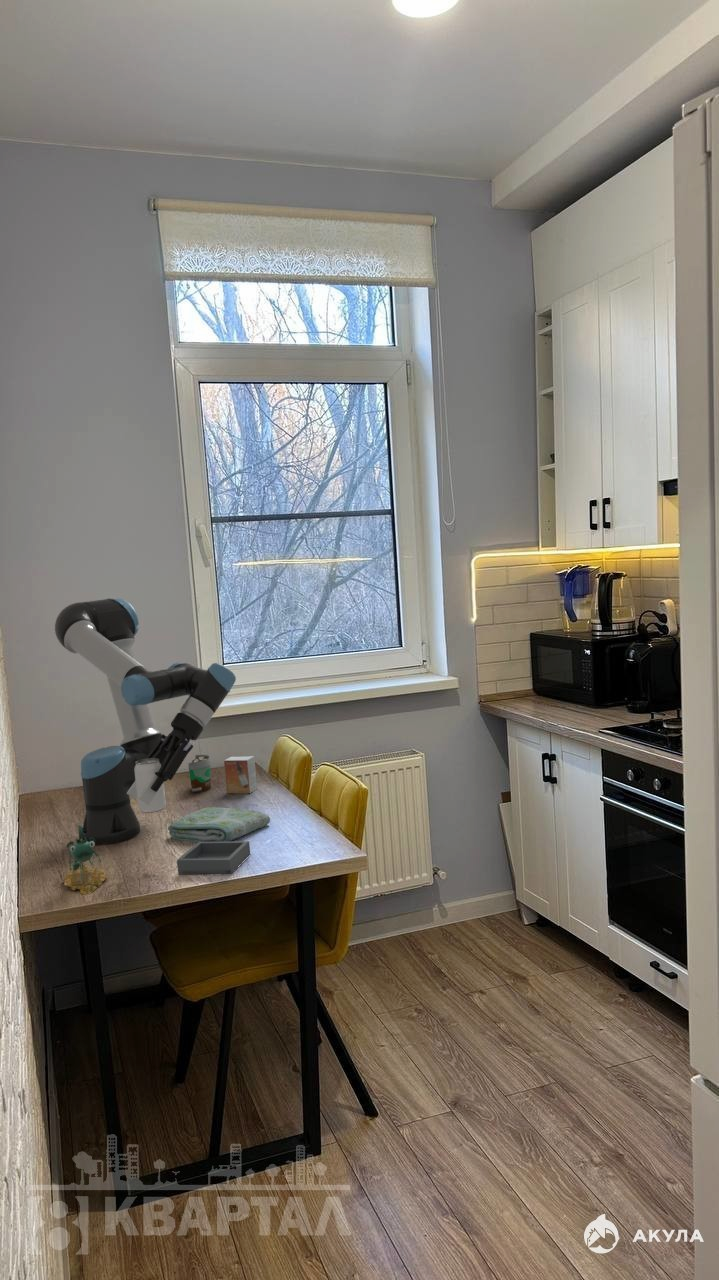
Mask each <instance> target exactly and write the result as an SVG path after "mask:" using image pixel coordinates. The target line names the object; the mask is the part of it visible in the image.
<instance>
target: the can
mask: <svg viewBox="0 0 719 1280" xmlns="http://www.w3.org/2000/svg"><path fill="white" fill-rule="evenodd" d="M135 763H136V766H135V769H134V771H135V781H136V790H137V806H138V811H139V812H140V813H143V814H152V813H158V812H161V811H163V810H165V808H167V802H166V794H165V782H164V783H163V784H162V785H161V787H160V788H159V790H158V791H157V793H156V794H155V796H154V797H153V799H152V800H151V802H150V803H149V805H147V804H146V803H144V802H143V801H142V800H140V799H139V797H140V795H141V794H142V793H143V791H144V790H145V788H146V787H147V785H148V784H149V782H150V781H151V779H152V778H153V777H154V775H155V772H159V770H160V768H161V764H160V762H159V759H157V758H148V759H142V760H139V761H136V762H135ZM156 776H157V775H156ZM157 777H158V776H157Z"/></svg>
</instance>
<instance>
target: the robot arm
mask: <svg viewBox="0 0 719 1280" xmlns="http://www.w3.org/2000/svg"><path fill="white" fill-rule="evenodd" d="M138 631H139V617H138V614H137V612H136V610H135V608H134V606H132V604H131V603H130V602H129V601H127V600H125V599H123V598H105V599H98V600H90V601H83V602H74V603H71V604H68V605H67V606H66V607H64V608H63V609H62V610H61V611H60V612H59V613H58V615H57V617H56V619H55V623H54V634H55V636H56V639H57V640H58V642H59V643H60V645H61V646H62V647H64V648H65V649H66V650H67V651H68V652H69V653H73V654H79V655H80V656H82V658H84V659H85V660H86V661H88V662H89V663H90V664H91V665H93V666H94V667H95V668H97V669H98V670H99V671H101V672H102V673H103V674H105V676H106V678H107V681H108V685H109V689H110V692H111V695H112V701H113V703H114V706H115V710H116V714H117V717H118V721H119V724H120V727H121V731H122V736H123V737H122V740H121V742H120V744H119V745H111V746H107V747H102V748H98V749H95V750H92V751H90V752H88V753H87V754H85V755H84V756H83V757H82V758H81V761H80V776H81V782H82V788H83V797H84V805H85V815H84V818H83V819H84V820H83V825H82V828H83V839H84V838H85V837H86V839H87V841H88V842H90V841H94V840H89V838H90V837H93V838H95V840H96V841H94V842H95V845H108V844H116V843H120V842H124V841H128V840H130V839H132V838H134V837H136V836H138V835H139V834H140V833H141V827H140V826H141V825H140V822H139V820H138V817H137V815H136V813H135V811H134V810H133V809H134V808H133V807H132V805H131V798H132V799H133V800H136V801H137V800H138V798H137V790H136V781H135V771H134V769H135V766H136V763H135V762H136V761H139V760H142V759H148V758H157V759H159V762H160V764H161V768H160V770H159V772H155V775H154V777H153V778H152V779H151V781H150V782H149V784H148V785H147V787H146V788H145V790H144V791H143V793H142V794H141V795H140V797H139V799H140V800H142V801H143V802H144V803H146V804H147V805H149V803H150V802H151V800H152V799H153V797H154V796H155V794H156V793H157V791H158V790H159V788H160V787H161V785H162V784H163V783H164V784H165V782H167V781H172V779H173V778H174V776H175V775H176V773H177V772H178V770H179V769H180V767H181V766H182V764H183V761H184V760H185V759H186V757H187V755H188V754H189V753H190V751H191V750H192V749H193V748H194V745H193V743H192V744H191V741H197V740H198V738H199V737H200V735H201V734H202V732H203V731H204V727H206V726H207V724H208V723H209V722H210V721H211V720H212V717H213V716H214V714H215V713H216V712H217V710H218V708H219V707H220V706H221V705H222V703H223V701H224V700H225V699H226V698H227V696H228V694H229V693H230V692H231V689H232V688H233V686H234V684H235V683H236V680H237V678H236V677H237V676H236V675H235V674H234V672H233V671H231V669H229V668H228V667H226V666H225V665H223V664H221V663H219V662H214V663H212V664H211V665H210V666H209V667H207V669H204V668H200V667H197V666H195V665H192V664H190V663H187V662H175V663H173V664H171V665H170V666H169V667H168V668H166V669H160V670H157V671H156V670H154V671H151V670H149V668H147V667H146V666H144V665H143V664H141V663H140V662H138V660H136V658H135V655H134V652H133V648H132V647H133V645H134V643H135V641H136V638H135V636H136V635H137V634H138ZM184 696H188V697H187V699H186V700H185V702H183V704H182V706H181V707H180V708H179V711H180V712H178V713H177V714H176V715H175V716H174V718H173V719H172V721H171V722H170V726H171V727H172V730H171V732H170V733H168V735H165V734H162V732H161V731H159V730H157V729H156V728H155V726H154V723H153V719H152V715H151V712H150V709H149V705H148V704H152V703H156V702H160V701H165V700H169V699H170V700H171V699H175V698H179V697H184ZM156 775H157V776H158V777H157V776H156Z"/></svg>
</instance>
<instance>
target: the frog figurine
mask: <svg viewBox="0 0 719 1280" xmlns="http://www.w3.org/2000/svg"><path fill="white" fill-rule="evenodd" d="M77 830H78V838H75V841H76V842H75V843H74V841H69V842H68V843H67V845H66V847H67V848H68V847H69V854H70V855H69V861H68V864H69V866H70V867H69V870H70V871H68V872H67V873H66V875H65V878H64V884H63V885H64V886H66V887H68V888H70V889H71V890H72V891H75V890H78V891H80V894H82V895H84V896H85V895H88V894H89V895H90V894H92V893H93V892H94V891H95V890H97V889H99V888H100V887H101V885H103V882H104V881H105V880H107V879H108V876H106V875H105V872H104V870H103V869H101V868H100V869H97V868H95V867H93V865H94V861H93V860H91V858H93V859H95V858H97V857H98V860H99V862H100V863H101V862H102V860H101V858H100V855H99V854H98V853H97V852H96V851H95V850H94V847H95V846H96V844H95V842H94V841H96V840H95V838H93V837H90V838H89V840H94V841H90V842H88V841H87V839H86V837H85V838H84V839H83V825H81V824H78V826H77ZM72 858H73V860H74V861H71V859H72ZM87 861H89V863H90V865H91V866H89V865H87V864H86V865H84V862H87ZM71 871H72V872H71Z"/></svg>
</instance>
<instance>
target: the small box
mask: <svg viewBox="0 0 719 1280" xmlns="http://www.w3.org/2000/svg"><path fill="white" fill-rule="evenodd" d="M255 760H256V759H255V756H254V755H250V756H249V755H248V756H230V757H228V758H226V759H225V760H223V765H224V775H225V776H224V777H225V786H226V787H225V788H226V794H242V793H250V794H251V792H252V793H253V792H255V791H256V790H257V789H258V785H257V784H258V783H257V771H256V762H255ZM254 790H255V791H254Z"/></svg>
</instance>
